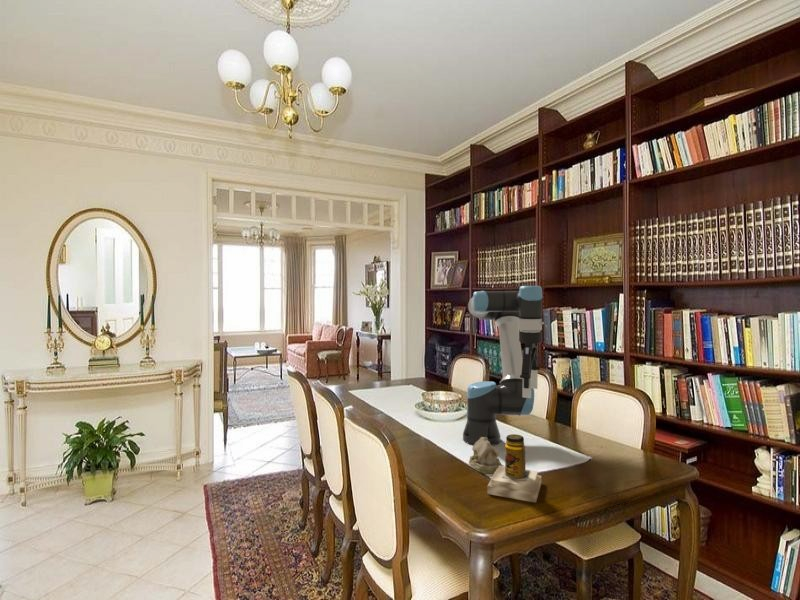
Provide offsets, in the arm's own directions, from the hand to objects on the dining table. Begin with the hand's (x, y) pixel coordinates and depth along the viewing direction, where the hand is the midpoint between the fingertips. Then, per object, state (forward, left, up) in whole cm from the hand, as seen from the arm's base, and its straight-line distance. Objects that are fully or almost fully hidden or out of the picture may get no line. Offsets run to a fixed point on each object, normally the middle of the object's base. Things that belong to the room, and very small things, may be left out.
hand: (530, 392), depth 150 cm
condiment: (-2, -17, -22) cm, 28 cm away
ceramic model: (-14, -4, -26) cm, 30 cm away
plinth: (-2, -18, -26) cm, 32 cm away
